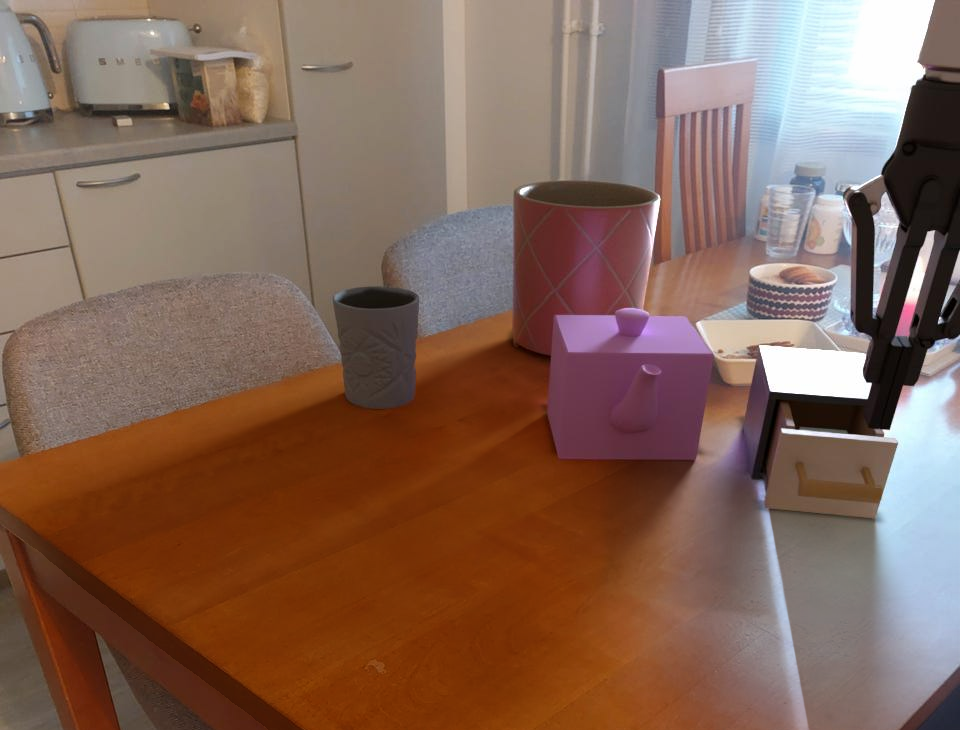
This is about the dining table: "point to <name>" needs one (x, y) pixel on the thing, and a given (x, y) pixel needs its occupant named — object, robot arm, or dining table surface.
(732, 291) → the dining table surface
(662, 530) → the dining table surface
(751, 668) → the dining table surface
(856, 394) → the cabinet
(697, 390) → the teapot
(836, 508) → the drawer
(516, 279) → the planter
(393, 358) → the gray embossed cup
